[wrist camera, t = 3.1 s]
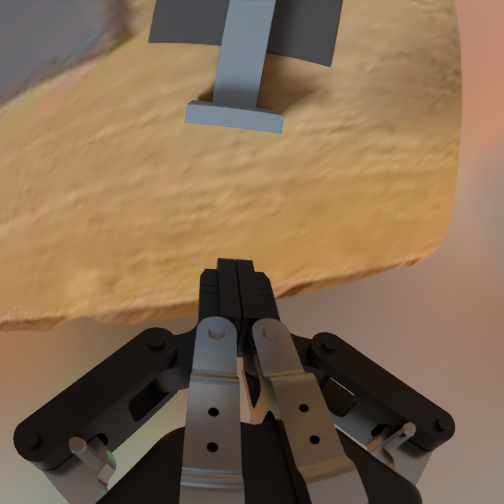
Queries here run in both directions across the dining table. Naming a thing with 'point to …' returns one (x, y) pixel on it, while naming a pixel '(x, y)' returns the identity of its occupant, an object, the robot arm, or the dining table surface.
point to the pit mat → (281, 31)
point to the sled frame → (240, 72)
